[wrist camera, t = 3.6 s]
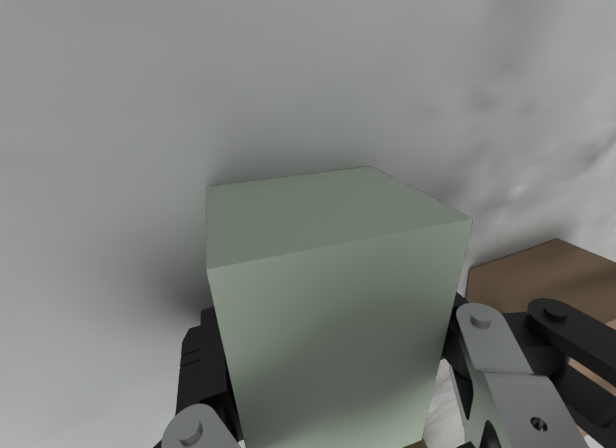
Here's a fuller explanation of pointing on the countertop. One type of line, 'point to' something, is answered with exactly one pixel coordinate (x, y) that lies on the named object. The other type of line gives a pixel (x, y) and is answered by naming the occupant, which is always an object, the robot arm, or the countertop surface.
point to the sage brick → (332, 304)
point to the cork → (417, 444)
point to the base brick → (550, 285)
